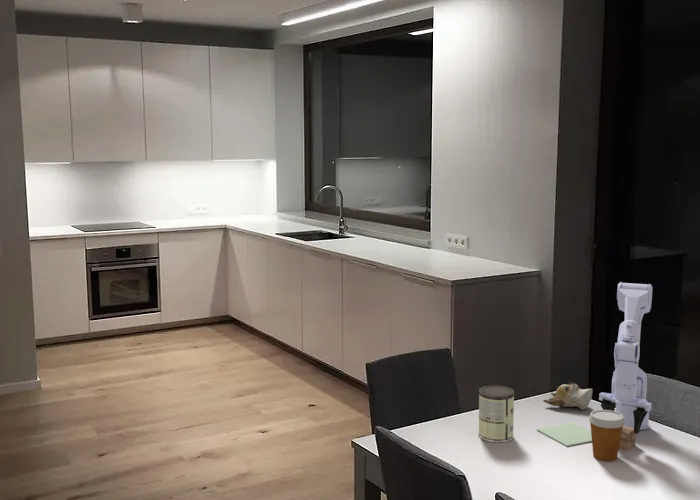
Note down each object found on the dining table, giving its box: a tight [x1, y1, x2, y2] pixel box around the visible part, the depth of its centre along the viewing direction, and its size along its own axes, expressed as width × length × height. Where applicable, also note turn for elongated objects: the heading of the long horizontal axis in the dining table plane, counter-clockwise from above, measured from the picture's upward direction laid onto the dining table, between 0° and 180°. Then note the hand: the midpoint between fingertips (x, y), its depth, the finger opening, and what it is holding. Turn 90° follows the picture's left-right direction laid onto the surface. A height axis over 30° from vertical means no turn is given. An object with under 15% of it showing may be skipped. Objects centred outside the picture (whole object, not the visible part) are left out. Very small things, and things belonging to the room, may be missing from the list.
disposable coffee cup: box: [588, 409, 625, 462], centre depth 210 cm, size 10×10×12 cm
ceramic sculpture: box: [542, 381, 593, 411], centre depth 251 cm, size 11×9×15 cm
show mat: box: [536, 421, 592, 447], centre depth 227 cm, size 14×14×1 cm
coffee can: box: [478, 384, 515, 444], centre depth 225 cm, size 10×10×14 cm
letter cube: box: [619, 426, 637, 451], centre depth 218 cm, size 5×5×5 cm
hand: (623, 429), depth 218 cm, fingers open, 7 cm apart
